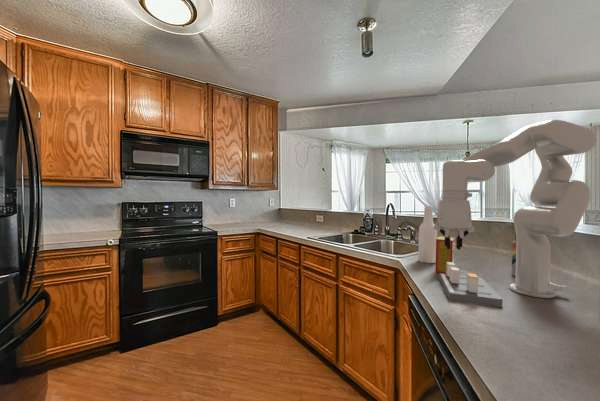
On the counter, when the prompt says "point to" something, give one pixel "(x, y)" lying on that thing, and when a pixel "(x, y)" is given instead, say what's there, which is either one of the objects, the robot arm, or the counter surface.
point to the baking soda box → (444, 254)
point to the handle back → (449, 264)
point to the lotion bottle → (514, 257)
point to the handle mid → (454, 275)
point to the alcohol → (427, 238)
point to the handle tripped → (472, 283)
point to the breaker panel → (463, 295)
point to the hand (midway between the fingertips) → (453, 248)
